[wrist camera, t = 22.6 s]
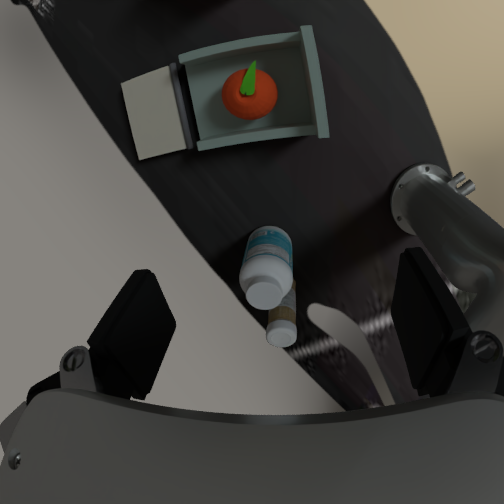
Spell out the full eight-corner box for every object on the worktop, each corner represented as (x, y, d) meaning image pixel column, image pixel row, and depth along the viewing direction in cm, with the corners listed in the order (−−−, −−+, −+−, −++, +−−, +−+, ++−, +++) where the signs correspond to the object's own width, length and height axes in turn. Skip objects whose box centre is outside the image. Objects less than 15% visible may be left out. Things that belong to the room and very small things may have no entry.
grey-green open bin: (305, 40, 29) (311, 25, 21) (319, 128, 35) (329, 137, 28) (186, 61, 32) (161, 54, 24) (204, 144, 38) (183, 157, 31)
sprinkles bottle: (277, 295, 52) (273, 351, 41) (266, 278, 50) (260, 333, 39) (300, 287, 50) (301, 343, 39) (289, 269, 49) (289, 325, 37)
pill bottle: (277, 269, 49) (272, 325, 37) (240, 249, 48) (225, 302, 36) (300, 237, 45) (304, 290, 34) (261, 215, 44) (252, 263, 32)
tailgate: (174, 62, 30) (120, 82, 32) (192, 148, 37) (139, 161, 39) (176, 63, 31) (124, 82, 33) (194, 147, 38) (142, 159, 39)
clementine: (233, 60, 30) (222, 53, 24) (284, 68, 30) (284, 62, 24) (223, 113, 35) (210, 117, 29) (273, 122, 35) (270, 127, 29)
